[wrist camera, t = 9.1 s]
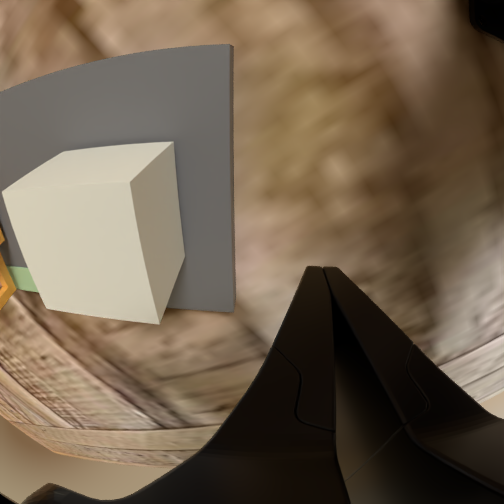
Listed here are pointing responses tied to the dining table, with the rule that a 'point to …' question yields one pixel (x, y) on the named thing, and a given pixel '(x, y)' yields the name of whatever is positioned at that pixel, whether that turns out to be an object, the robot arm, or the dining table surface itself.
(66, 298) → the block
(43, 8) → the dining table surface
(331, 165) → the dining table surface
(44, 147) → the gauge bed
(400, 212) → the dining table surface
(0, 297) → the needle rider
